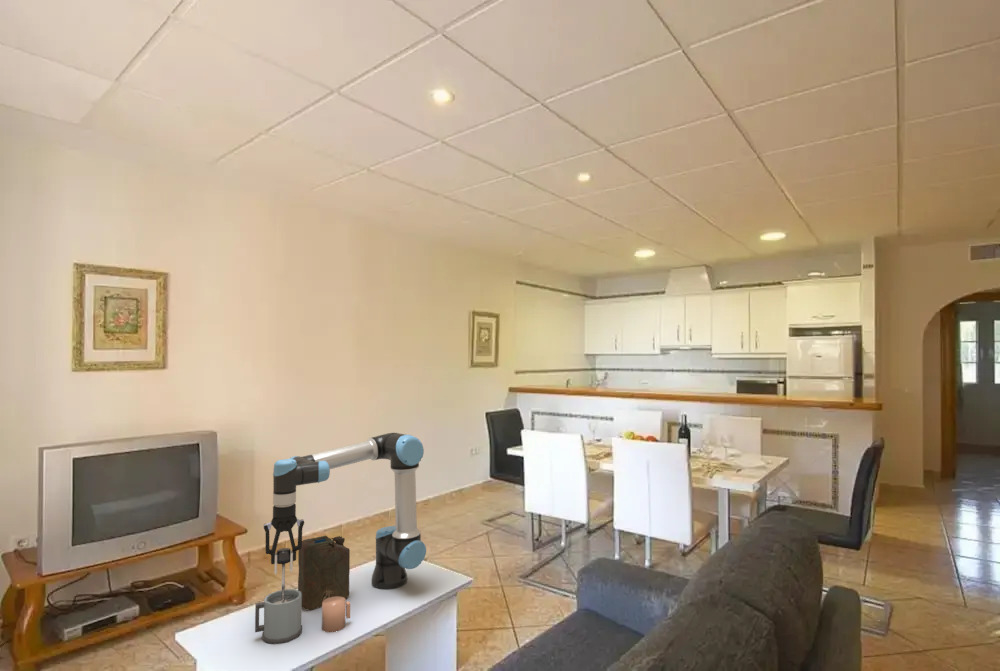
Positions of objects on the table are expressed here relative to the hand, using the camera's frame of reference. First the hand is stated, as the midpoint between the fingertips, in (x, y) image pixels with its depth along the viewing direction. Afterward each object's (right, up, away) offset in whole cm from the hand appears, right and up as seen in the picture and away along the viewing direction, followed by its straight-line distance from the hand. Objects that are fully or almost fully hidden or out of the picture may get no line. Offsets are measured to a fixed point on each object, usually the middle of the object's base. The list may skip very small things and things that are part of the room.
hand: (283, 571), depth 187 cm
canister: (+6, -23, +24) cm, 34 cm away
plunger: (0, -11, -1) cm, 11 cm away
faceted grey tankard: (-1, -22, -1) cm, 22 cm away
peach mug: (+16, -22, +4) cm, 28 cm away
